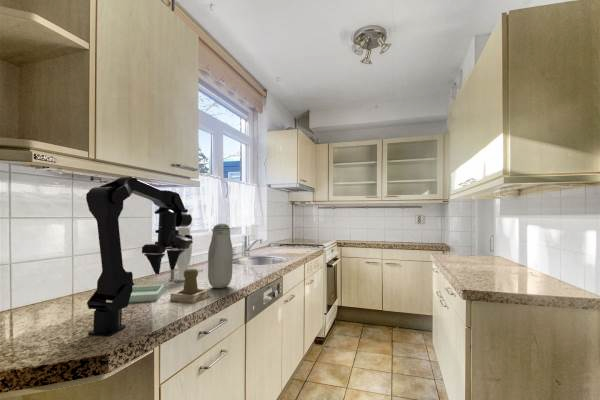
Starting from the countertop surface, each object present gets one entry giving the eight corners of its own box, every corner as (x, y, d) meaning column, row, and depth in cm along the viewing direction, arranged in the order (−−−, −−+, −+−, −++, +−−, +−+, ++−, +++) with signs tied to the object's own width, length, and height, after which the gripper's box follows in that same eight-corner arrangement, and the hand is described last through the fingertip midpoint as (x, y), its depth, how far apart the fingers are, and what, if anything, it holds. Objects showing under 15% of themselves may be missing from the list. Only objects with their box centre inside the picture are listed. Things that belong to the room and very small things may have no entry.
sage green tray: (157, 300, 109) (157, 294, 109) (111, 303, 105) (111, 296, 105) (164, 290, 124) (164, 284, 124) (124, 292, 120) (124, 286, 120)
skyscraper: (185, 277, 150) (186, 221, 151) (195, 279, 145) (196, 222, 146) (169, 280, 143) (171, 222, 144) (179, 282, 138) (180, 222, 140)
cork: (193, 300, 109) (193, 270, 110) (178, 299, 111) (179, 270, 111) (201, 296, 115) (202, 268, 116) (187, 295, 116) (188, 267, 117)
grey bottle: (224, 291, 123) (226, 224, 124) (203, 289, 126) (204, 223, 127) (236, 285, 133) (237, 223, 134) (215, 284, 135) (216, 223, 137)
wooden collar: (192, 303, 107) (192, 296, 107) (170, 300, 110) (170, 293, 110) (209, 295, 116) (209, 289, 116) (188, 293, 119) (188, 287, 119)
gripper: (174, 228, 94) (171, 277, 93) (201, 227, 112) (199, 268, 111) (141, 227, 95) (139, 276, 94) (173, 226, 114) (171, 267, 113)
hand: (165, 271), depth 103 cm, fingers open, 9 cm apart
